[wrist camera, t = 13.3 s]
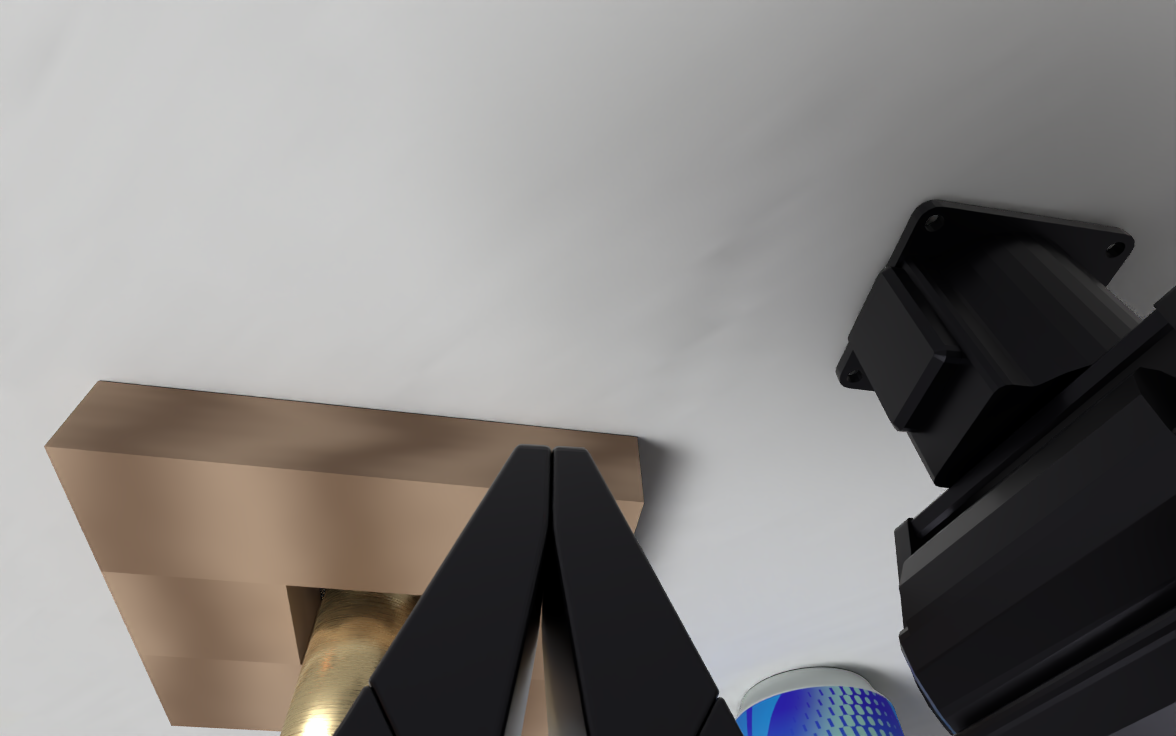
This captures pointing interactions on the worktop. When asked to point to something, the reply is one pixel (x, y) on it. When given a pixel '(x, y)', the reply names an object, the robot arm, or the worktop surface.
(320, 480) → the walnut jig
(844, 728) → the beer can
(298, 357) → the worktop surface
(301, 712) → the brass sleeve
